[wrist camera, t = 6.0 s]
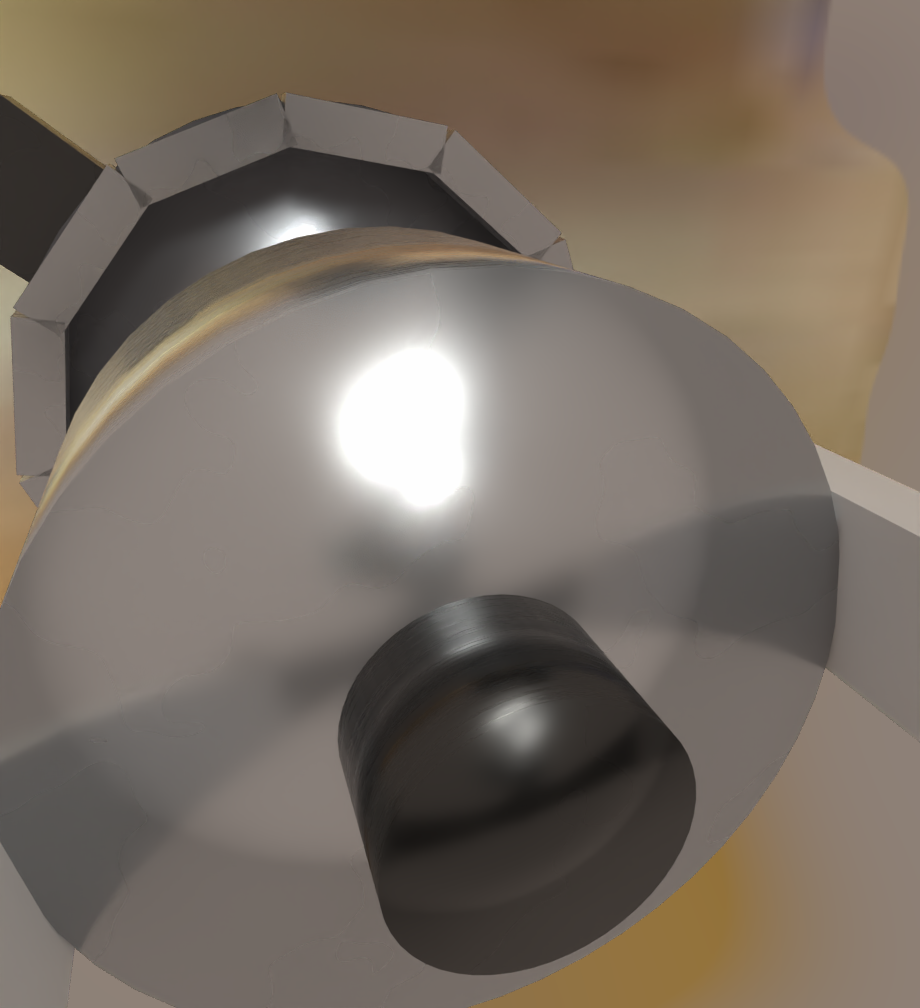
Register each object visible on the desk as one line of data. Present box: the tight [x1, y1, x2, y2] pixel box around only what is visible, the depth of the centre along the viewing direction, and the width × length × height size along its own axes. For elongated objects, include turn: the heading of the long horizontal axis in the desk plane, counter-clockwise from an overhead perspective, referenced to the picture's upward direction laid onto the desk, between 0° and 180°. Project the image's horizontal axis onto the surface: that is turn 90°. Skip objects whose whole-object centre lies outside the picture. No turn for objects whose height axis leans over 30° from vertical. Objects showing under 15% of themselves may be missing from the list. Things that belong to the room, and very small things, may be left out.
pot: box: [0, 93, 573, 508], centre depth 23 cm, size 18×14×8 cm
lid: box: [0, 226, 840, 1008], centre depth 10 cm, size 10×10×6 cm
